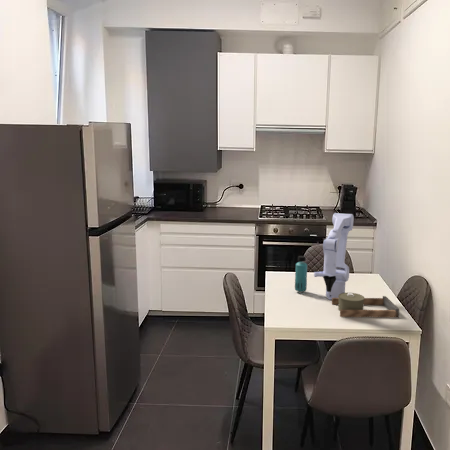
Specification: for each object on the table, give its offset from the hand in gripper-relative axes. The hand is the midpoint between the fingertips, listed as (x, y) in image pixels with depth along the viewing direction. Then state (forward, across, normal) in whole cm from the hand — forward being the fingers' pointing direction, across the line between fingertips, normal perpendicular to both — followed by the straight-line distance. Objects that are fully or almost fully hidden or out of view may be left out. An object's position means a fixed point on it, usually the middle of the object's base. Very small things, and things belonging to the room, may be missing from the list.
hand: (328, 291), depth 217 cm
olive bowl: (+10, +11, 0) cm, 15 cm away
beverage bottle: (+10, -9, +26) cm, 29 cm away
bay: (+9, +17, 0) cm, 20 cm away
